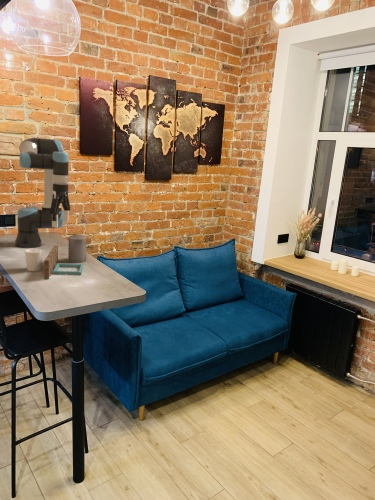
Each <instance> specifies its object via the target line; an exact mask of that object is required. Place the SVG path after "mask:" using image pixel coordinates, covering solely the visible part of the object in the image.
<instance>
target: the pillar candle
mask: <svg viewBox="0 0 375 500" xmlns="http://www.w3.org/2000/svg"><path fill="white" fill-rule="evenodd" d="M67 252H68V259H67V260H68V261H69V262H71V263H73V264H80V263H84V262H86V261H87V236H86V235H83V234H72V235H69V236H68V251H67Z"/></svg>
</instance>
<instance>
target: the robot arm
mask: <svg viewBox="0 0 375 500" xmlns="http://www.w3.org/2000/svg"><path fill="white" fill-rule="evenodd" d="M18 149H19V157H18V158H19V167H20V168H22V169H35V170H36V169H37V170H43V192H44V194H43V195H44V196H43V198H44V201H43V202H44V203H43V205H41V209H39V208H38V207H37V206H26V207H21V208H19V209H18V210H17V216H16V217H17V234H16V236H15V240H14V246H15V247H18V248H24V249H25V248H26V249H31V248H37V247H41V246H42V244H43V243H42V239H41V235H40V233H39V229H61V228H63V225H64V224H69V211H71V204H70V199H69V198H70V197H69V184H68V183H69V180H70V177H69V166H70V165H69V162H70V159H69V153H68V152H64V146H63V143H62V142H61V140H59V139H58V140H57V139H51V138H50V139H49V138H39V137H30V138H26V139H24V140H23V141H21V142H20V143H19V146H18ZM61 205H62V206H61ZM62 208H63V209H62Z"/></svg>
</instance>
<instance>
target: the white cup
mask: <svg viewBox="0 0 375 500" xmlns="http://www.w3.org/2000/svg"><path fill="white" fill-rule="evenodd" d="M24 253H25V264H26V270H27V271H29V272H39V271H40V270H42V264H43V263H42V262H43V261H42V260H43V250H42V249H41V248H37V247H32V248H26V249H25V251H24Z"/></svg>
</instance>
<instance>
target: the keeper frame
mask: <svg viewBox="0 0 375 500" xmlns="http://www.w3.org/2000/svg"><path fill="white" fill-rule="evenodd" d="M59 268H79V269H78V271H76V270H59ZM83 270H84V263H63V262H62V263H61V262H60V263H59V262H58V263H57V264H56V266H55V268H54V270H53V272H52V274H53V275H65V274H68V275H70V276H71V275H73V276H75V275H76V276H81V275H82V272H83Z"/></svg>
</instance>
